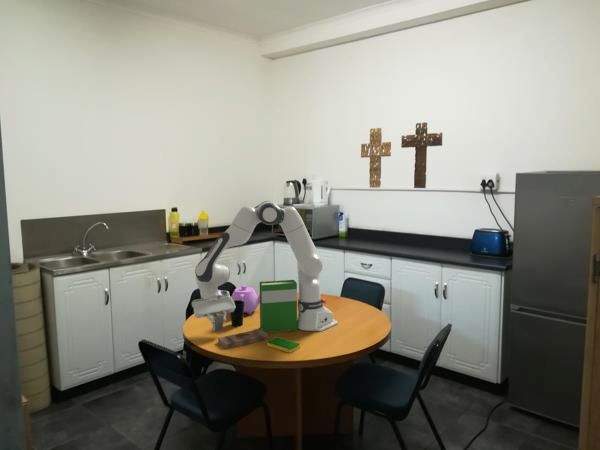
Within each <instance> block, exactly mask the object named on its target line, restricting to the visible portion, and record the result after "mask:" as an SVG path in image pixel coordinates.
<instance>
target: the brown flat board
mask: <svg viewBox="0 0 600 450" xmlns="http://www.w3.org/2000/svg"><path fill="white" fill-rule="evenodd" d="M217 340H218V341H217V343H218V344H220V345H221V347H223V348H224V349H226V350H227V349H228V350H229V349H232V348H237V347H241V346H245V345H250V344H253V343H257V342H263V341H268V340H270V334H269V333H268V332H264V331H262V328H258V329H257V328H256V329H253V330H249V331H248V330H247V331H244V332H239V333H234V334H230V335H226V336H220V337H218V338H217Z"/></svg>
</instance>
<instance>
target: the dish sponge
mask: <svg viewBox="0 0 600 450" xmlns="http://www.w3.org/2000/svg"><path fill="white" fill-rule="evenodd" d="M266 341H267V343H266V346H267V347H271V348H274V349H277V350H280V351H284V352H286V353H290V354H291V353H293V352H295V351H296V350H299V349H300V348H301V347H300V343H298V342H296V341H292V340H288V339H285V338H281V337H278V336H277V337H273V338H272V339H268V340H266Z"/></svg>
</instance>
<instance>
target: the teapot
mask: <svg viewBox="0 0 600 450" xmlns="http://www.w3.org/2000/svg"><path fill="white" fill-rule="evenodd" d="M230 297H231V298H232V299H233V301H235V300H240V301H244V313H246V314H247V315H253V312H254V311H256V310H257V308H258V307H259V306H260V294H259V295H257V293H256V291H255V289H254V288H253V287H251V286H250V287H249V286H247V285H246V284H245V285H241V286H239V287H236V288H235V289H234V290H233V292H232V295H231V296H230Z"/></svg>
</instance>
